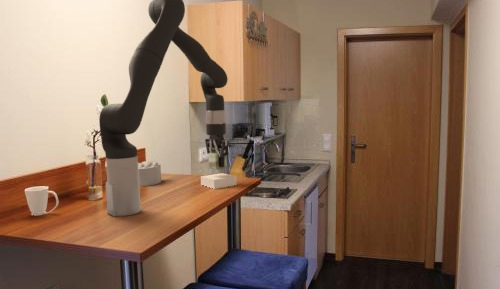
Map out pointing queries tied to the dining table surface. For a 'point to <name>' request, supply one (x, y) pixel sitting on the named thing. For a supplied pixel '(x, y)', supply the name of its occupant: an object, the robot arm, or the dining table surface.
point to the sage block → (216, 161)
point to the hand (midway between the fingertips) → (217, 165)
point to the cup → (39, 199)
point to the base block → (218, 180)
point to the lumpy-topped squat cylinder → (149, 173)
